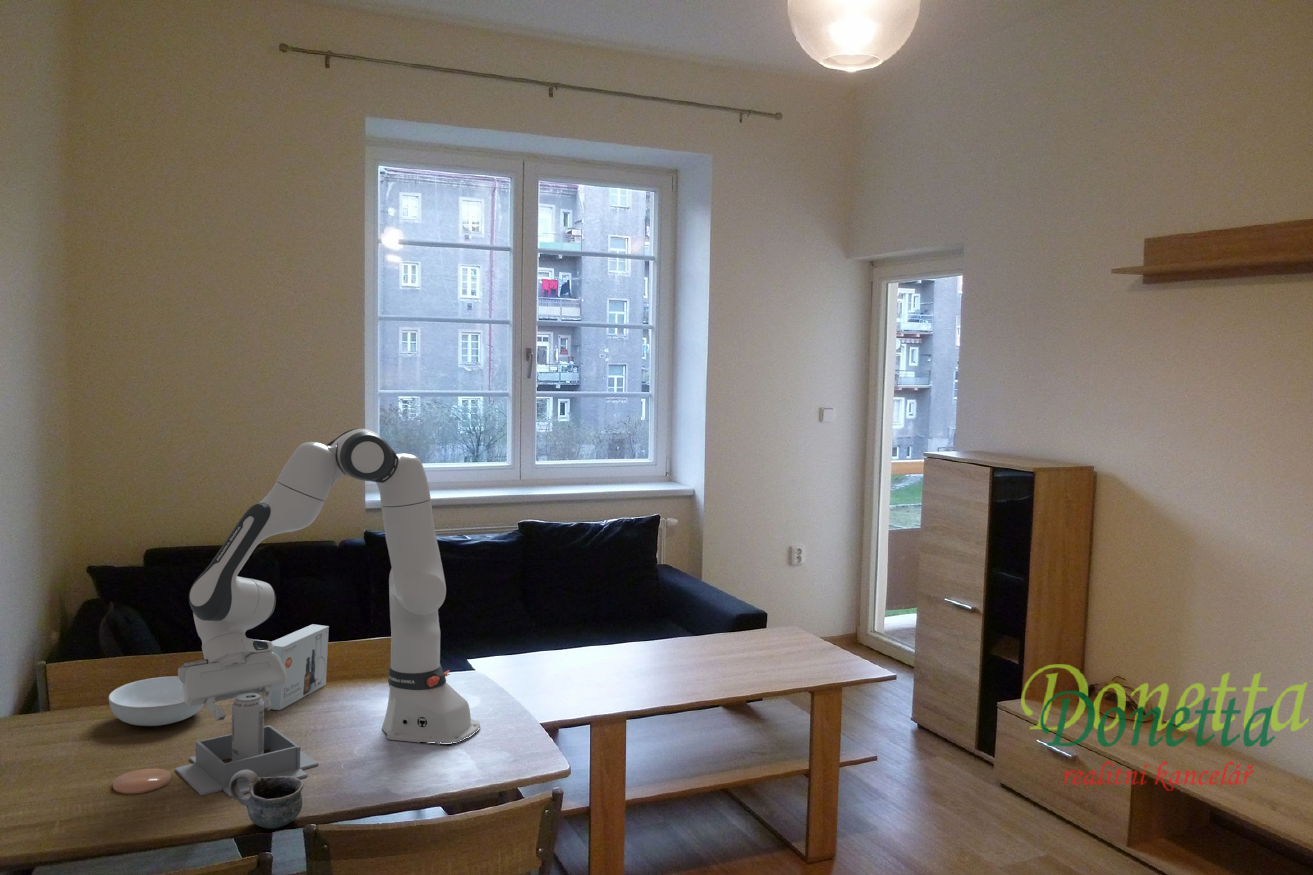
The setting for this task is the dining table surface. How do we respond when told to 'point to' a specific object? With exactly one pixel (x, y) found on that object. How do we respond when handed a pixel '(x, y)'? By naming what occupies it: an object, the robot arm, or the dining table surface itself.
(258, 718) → the energy drink can
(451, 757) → the dining table surface
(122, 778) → the coaster
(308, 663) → the skincare box
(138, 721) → the serving bowl
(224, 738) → the grey open box
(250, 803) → the mug
